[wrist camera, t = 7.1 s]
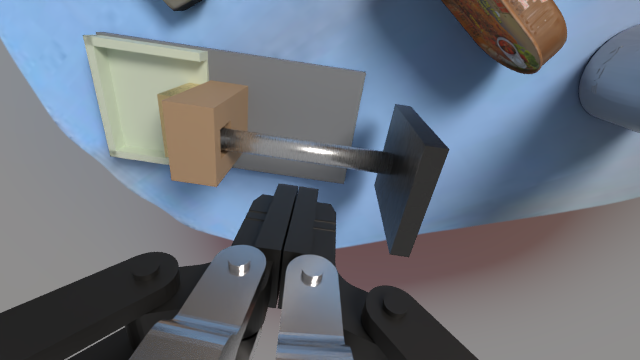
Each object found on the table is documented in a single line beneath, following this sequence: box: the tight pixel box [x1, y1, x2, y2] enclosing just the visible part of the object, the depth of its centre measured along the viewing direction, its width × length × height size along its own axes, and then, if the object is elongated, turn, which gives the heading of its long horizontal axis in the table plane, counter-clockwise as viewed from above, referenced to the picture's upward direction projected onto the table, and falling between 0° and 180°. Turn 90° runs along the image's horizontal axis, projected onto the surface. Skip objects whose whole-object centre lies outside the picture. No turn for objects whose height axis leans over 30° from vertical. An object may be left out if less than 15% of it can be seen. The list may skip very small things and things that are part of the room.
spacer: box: [157, 83, 200, 157], centre depth 29 cm, size 2×6×6 cm, turn 172°
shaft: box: [220, 104, 449, 257], centre depth 25 cm, size 19×9×11 cm, turn 82°
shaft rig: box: [83, 32, 366, 187], centre depth 28 cm, size 28×13×11 cm, turn 82°
